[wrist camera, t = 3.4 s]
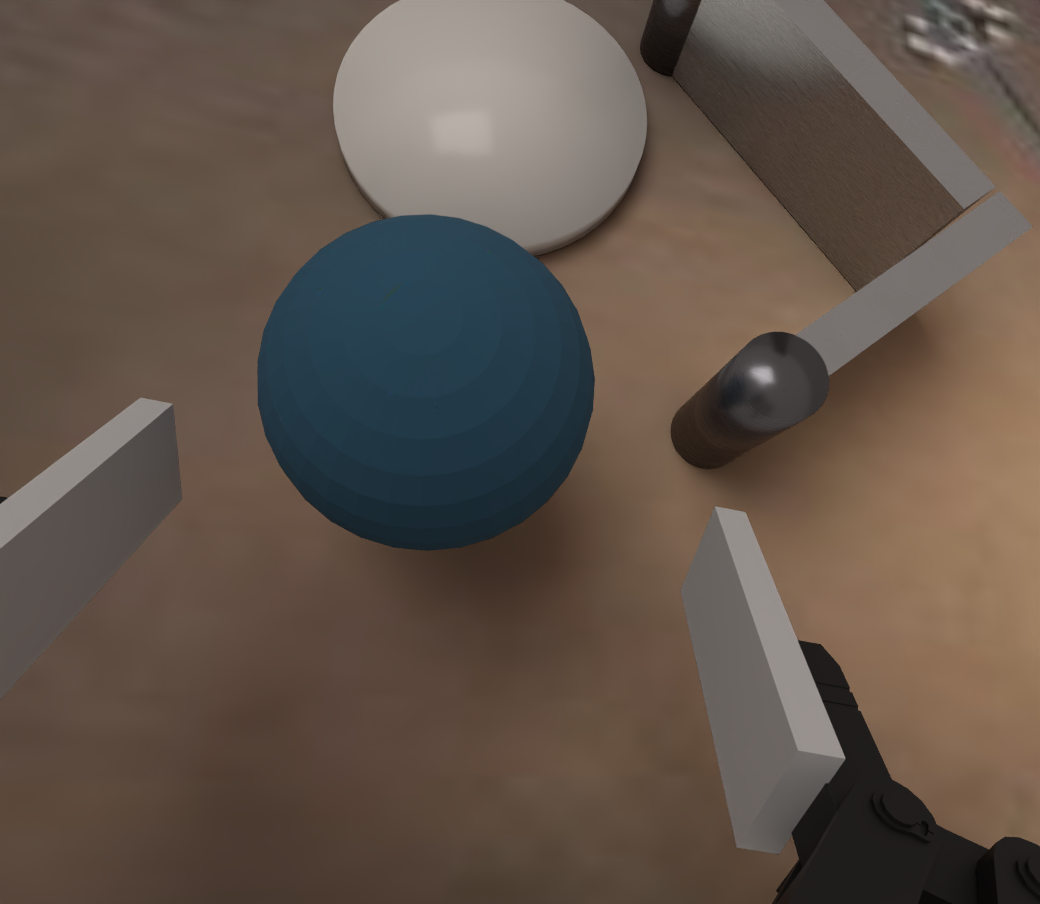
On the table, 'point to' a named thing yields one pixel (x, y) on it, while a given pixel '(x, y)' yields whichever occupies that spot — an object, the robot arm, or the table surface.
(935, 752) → the table surface
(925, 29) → the table surface
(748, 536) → the robot arm
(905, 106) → the bent rail
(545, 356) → the dark blue rounded piece
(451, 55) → the coaster
